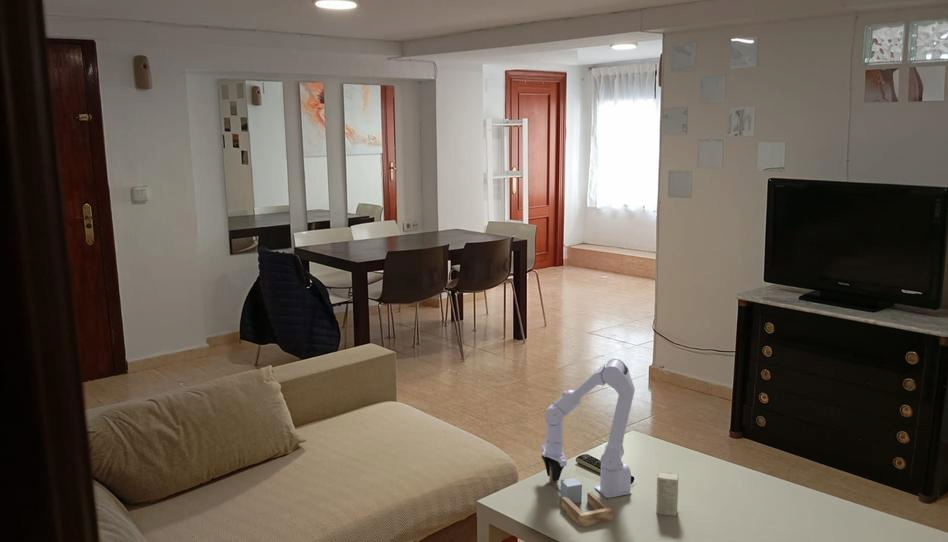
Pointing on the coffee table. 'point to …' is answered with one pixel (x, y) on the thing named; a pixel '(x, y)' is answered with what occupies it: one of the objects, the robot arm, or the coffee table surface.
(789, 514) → the coffee table surface
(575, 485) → the block with pull
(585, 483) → the coffee table surface
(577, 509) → the two-pronged wooden block
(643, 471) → the coffee table surface
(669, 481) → the skincare box
